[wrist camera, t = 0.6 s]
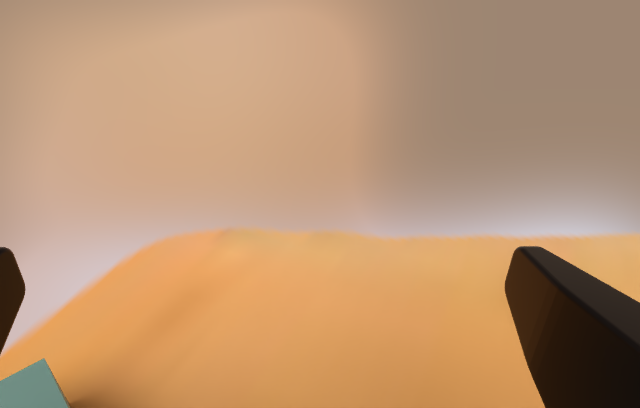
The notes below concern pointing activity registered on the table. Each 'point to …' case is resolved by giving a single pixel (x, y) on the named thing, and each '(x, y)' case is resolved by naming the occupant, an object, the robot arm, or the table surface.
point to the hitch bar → (32, 389)
